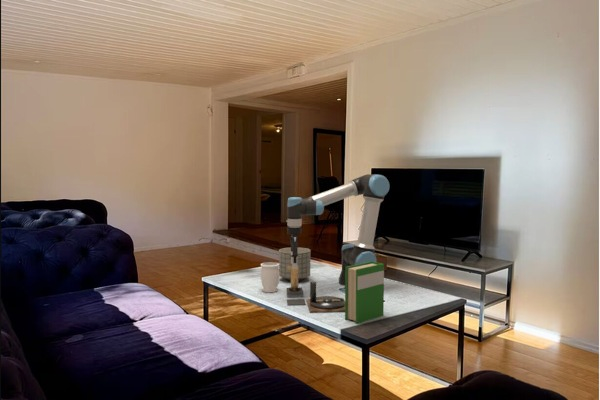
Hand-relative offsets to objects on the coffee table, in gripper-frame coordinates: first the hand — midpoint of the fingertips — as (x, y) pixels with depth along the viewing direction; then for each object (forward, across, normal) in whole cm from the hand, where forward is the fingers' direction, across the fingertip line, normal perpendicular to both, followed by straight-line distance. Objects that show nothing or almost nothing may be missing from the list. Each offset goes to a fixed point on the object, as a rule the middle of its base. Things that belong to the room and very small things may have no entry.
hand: (293, 266), depth 237 cm
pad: (+16, +13, 0) cm, 20 cm away
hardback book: (+16, +37, +30) cm, 51 cm away
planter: (+16, -33, +2) cm, 37 cm away
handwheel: (+14, +20, +15) cm, 29 cm away
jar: (+16, -10, -12) cm, 23 cm away
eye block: (+16, 0, 0) cm, 16 cm away
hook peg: (+16, 0, -1) cm, 16 cm away
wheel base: (+16, +20, +16) cm, 30 cm away
